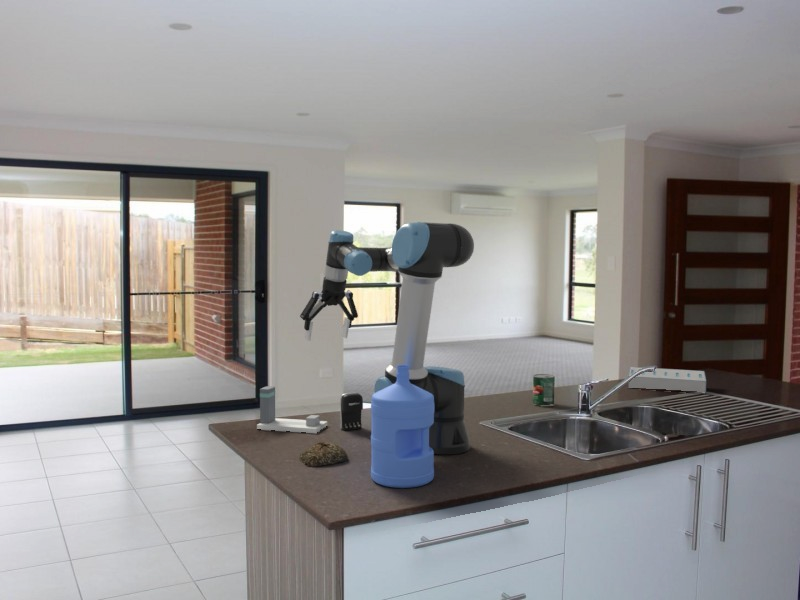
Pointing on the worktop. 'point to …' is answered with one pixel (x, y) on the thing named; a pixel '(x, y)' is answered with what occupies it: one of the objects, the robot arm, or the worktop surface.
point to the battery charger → (351, 411)
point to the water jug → (402, 434)
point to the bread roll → (323, 454)
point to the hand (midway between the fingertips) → (326, 337)
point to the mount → (278, 424)
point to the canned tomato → (543, 389)
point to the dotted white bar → (669, 379)
